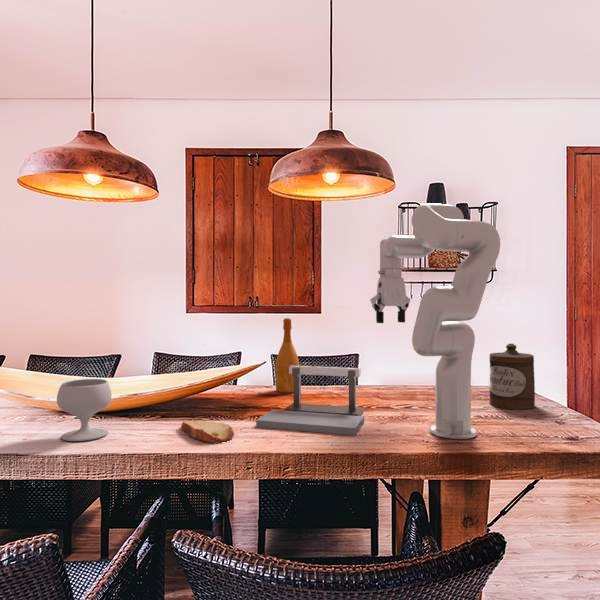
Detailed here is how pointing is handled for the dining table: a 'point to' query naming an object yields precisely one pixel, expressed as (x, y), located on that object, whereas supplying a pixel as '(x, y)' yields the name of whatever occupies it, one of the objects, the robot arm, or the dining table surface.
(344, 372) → the rail
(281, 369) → the wine bottle
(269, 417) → the board
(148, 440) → the dining table surface
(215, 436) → the bread slice
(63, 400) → the chalice
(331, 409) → the rack
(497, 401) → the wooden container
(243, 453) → the dining table surface
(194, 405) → the dining table surface
